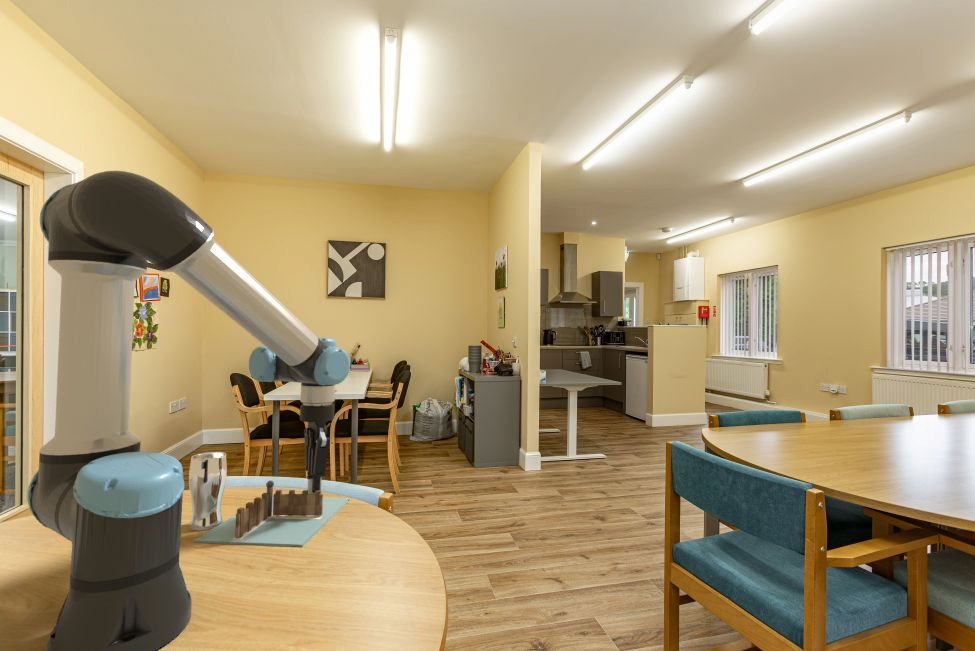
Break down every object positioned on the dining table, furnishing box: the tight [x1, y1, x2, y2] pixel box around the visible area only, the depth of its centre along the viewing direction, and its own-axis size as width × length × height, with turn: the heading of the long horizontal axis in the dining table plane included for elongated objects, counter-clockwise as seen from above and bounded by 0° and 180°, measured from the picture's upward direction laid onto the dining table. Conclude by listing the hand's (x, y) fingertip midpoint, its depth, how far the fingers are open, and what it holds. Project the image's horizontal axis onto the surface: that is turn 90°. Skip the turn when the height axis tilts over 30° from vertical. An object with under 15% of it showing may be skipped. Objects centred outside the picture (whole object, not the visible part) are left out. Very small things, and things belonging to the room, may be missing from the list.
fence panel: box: [273, 489, 324, 516], centre depth 100 cm, size 11×1×5 cm, turn 91°
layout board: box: [193, 497, 350, 548], centre depth 100 cm, size 26×22×1 cm
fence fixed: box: [235, 480, 275, 538], centre depth 95 cm, size 13×2×8 cm, turn 177°
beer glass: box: [188, 451, 228, 532], centre depth 96 cm, size 7×7×15 cm
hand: (313, 504), depth 102 cm, fingers closed
